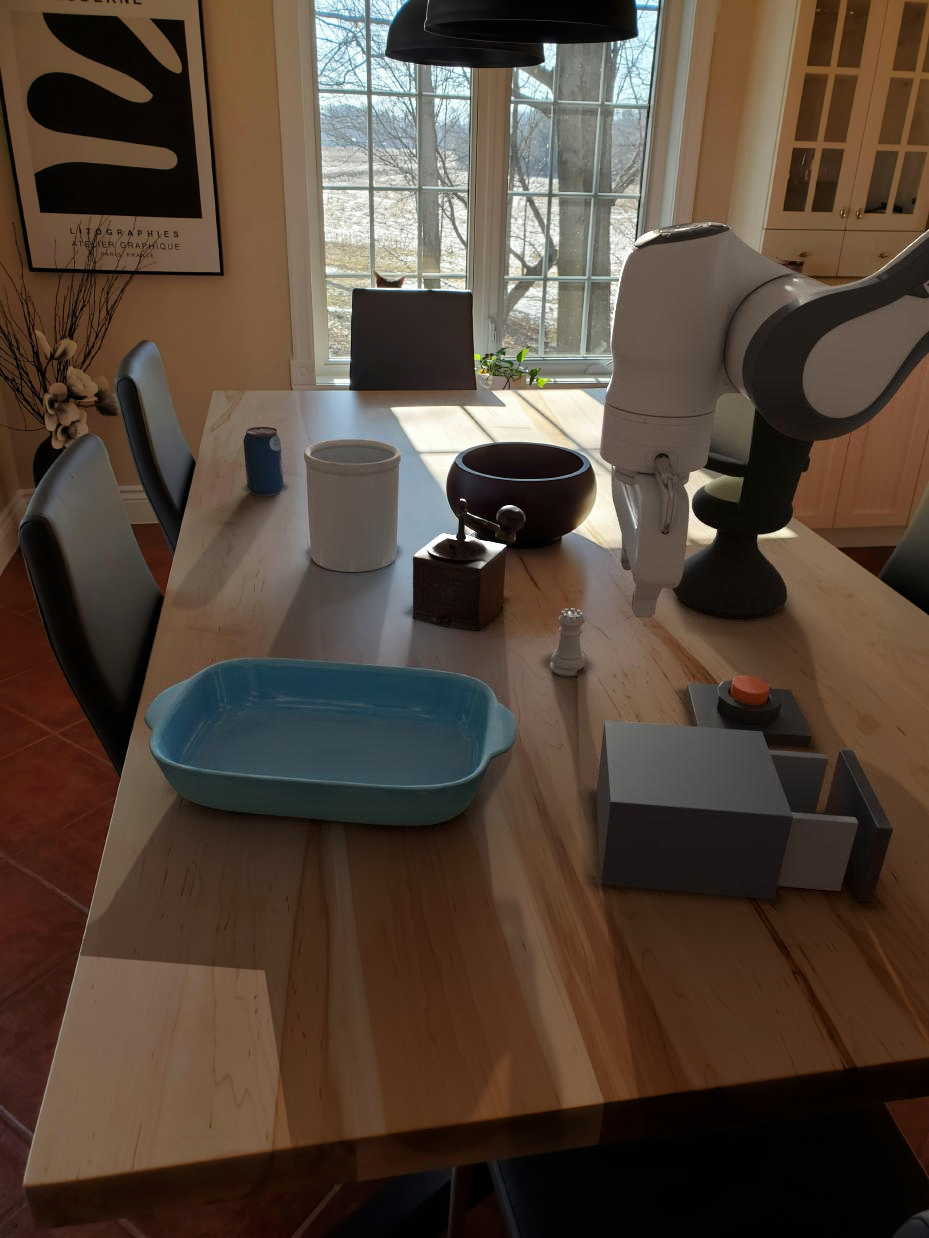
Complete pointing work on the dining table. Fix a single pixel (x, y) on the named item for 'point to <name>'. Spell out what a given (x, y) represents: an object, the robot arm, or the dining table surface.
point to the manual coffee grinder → (464, 573)
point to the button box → (749, 713)
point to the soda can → (263, 461)
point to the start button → (750, 690)
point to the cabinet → (690, 810)
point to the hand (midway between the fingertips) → (636, 589)
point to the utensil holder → (353, 503)
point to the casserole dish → (329, 739)
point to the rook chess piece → (569, 645)
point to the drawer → (831, 825)
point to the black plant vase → (744, 526)
